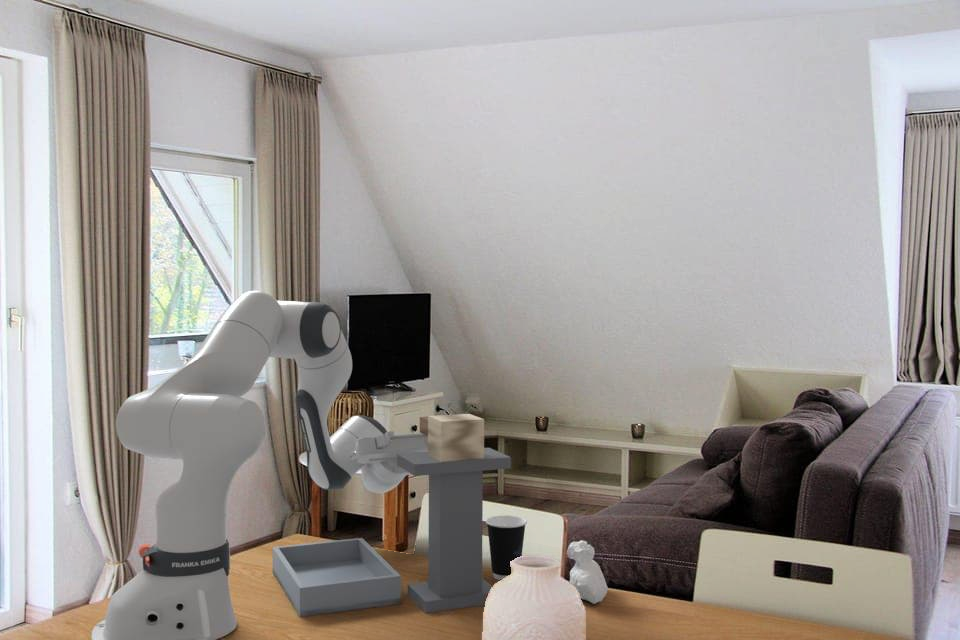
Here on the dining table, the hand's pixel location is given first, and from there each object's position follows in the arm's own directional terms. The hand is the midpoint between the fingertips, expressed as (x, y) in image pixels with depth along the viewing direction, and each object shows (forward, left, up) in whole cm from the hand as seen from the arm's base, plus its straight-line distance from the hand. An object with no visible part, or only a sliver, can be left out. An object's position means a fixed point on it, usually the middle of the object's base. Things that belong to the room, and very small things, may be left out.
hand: (413, 433), depth 191 cm
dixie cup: (+14, -15, -27) cm, 34 cm away
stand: (0, -23, -26) cm, 35 cm away
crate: (-18, -9, -26) cm, 34 cm away
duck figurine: (+23, -31, -27) cm, 47 cm away
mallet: (0, -18, 0) cm, 18 cm away
